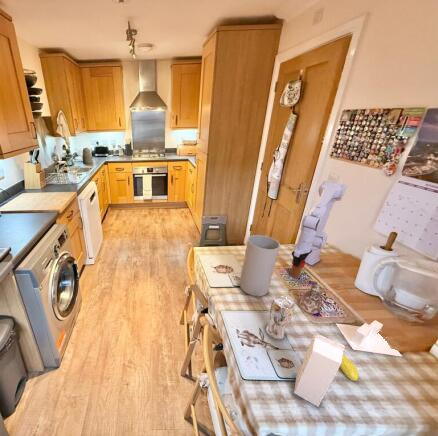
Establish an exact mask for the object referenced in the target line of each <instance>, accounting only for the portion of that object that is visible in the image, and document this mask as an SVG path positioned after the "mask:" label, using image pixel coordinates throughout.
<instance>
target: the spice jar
mask: <svg viewBox="0 0 438 436" xmlns="http://www.w3.org/2000/svg"><path fill="white" fill-rule="evenodd" d="M291 265H292V264H291ZM302 270H303V268H298V267H295V266H293V265H292V266H291V269H290V273H289V276H291V278H294V279H299V278H300V277H301V273H302Z"/></svg>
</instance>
